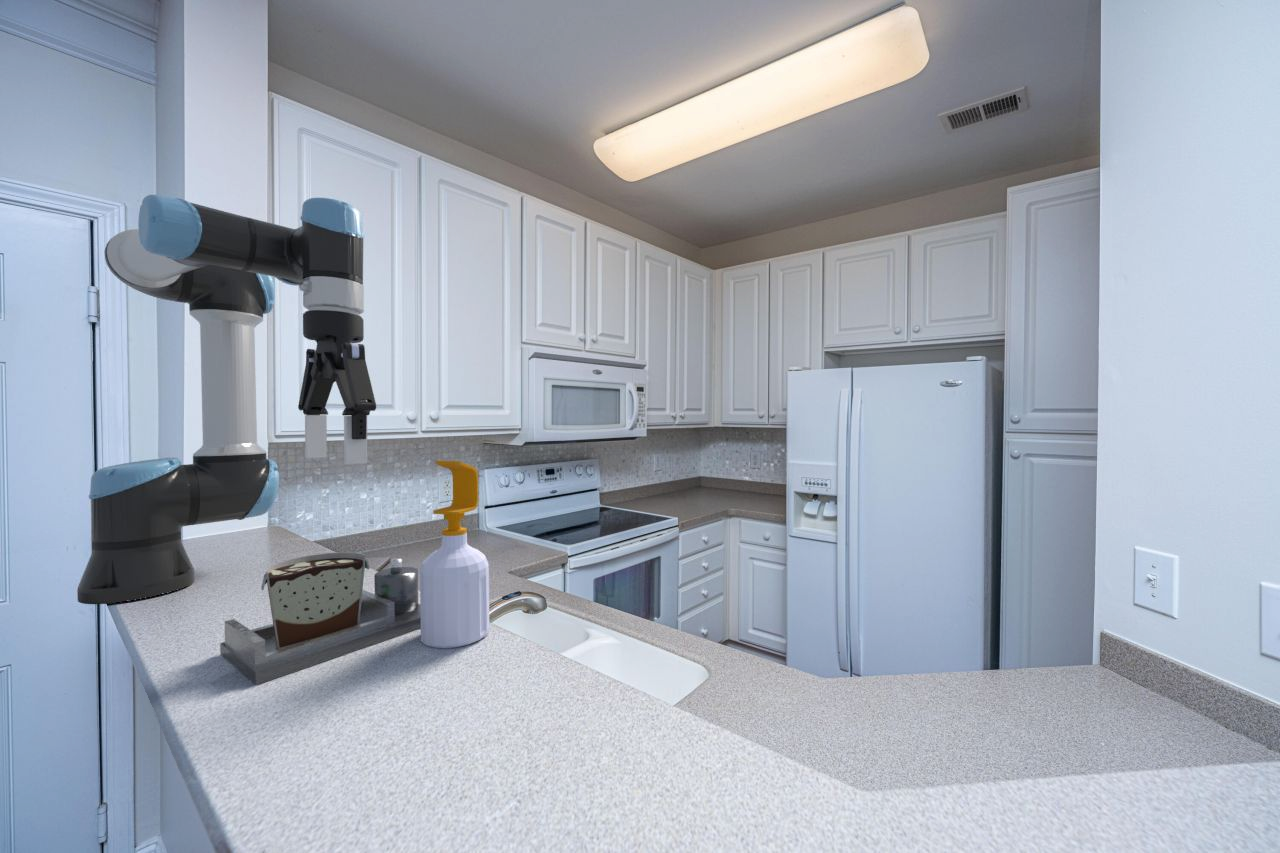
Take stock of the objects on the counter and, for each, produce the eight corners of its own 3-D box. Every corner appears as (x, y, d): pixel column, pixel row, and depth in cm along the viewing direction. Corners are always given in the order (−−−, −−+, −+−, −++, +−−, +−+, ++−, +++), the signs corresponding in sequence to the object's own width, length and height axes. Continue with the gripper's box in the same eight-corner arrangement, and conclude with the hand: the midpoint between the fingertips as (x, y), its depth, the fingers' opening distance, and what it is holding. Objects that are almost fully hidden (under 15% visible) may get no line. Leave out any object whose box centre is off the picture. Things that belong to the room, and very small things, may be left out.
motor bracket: (220, 654, 67) (219, 585, 67) (394, 603, 86) (393, 549, 85) (256, 685, 59) (254, 606, 59) (439, 621, 78) (438, 561, 78)
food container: (355, 614, 77) (354, 546, 77) (370, 625, 73) (369, 554, 73) (253, 640, 68) (251, 564, 68) (263, 654, 64) (261, 573, 64)
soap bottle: (405, 645, 70) (403, 462, 69) (449, 620, 78) (447, 457, 78) (463, 653, 67) (460, 463, 67) (501, 626, 76) (499, 458, 75)
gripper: (273, 318, 79) (274, 457, 80) (343, 296, 64) (344, 468, 64) (326, 325, 85) (327, 454, 86) (403, 306, 70) (403, 464, 70)
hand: (334, 460), depth 75 cm, fingers open, 13 cm apart
